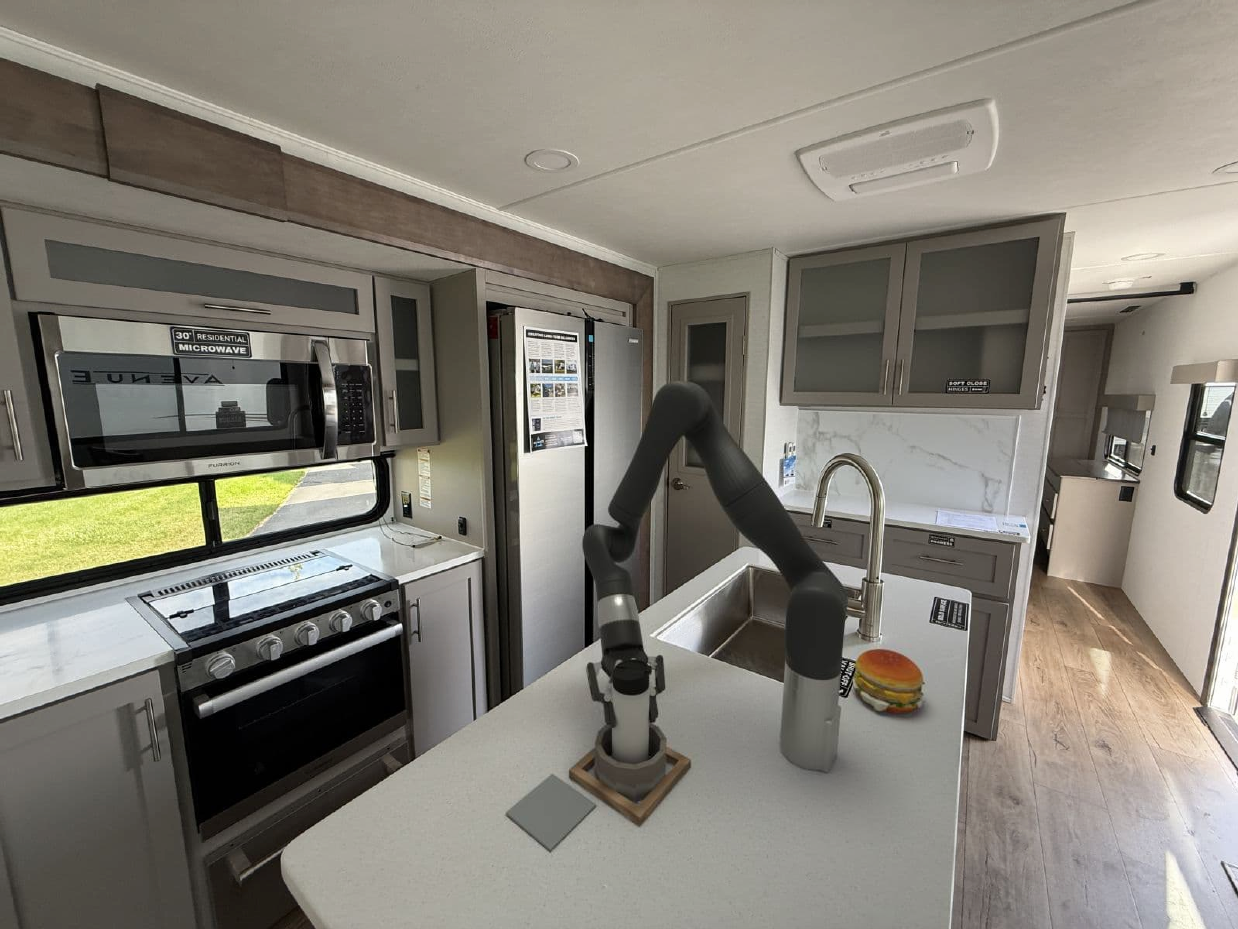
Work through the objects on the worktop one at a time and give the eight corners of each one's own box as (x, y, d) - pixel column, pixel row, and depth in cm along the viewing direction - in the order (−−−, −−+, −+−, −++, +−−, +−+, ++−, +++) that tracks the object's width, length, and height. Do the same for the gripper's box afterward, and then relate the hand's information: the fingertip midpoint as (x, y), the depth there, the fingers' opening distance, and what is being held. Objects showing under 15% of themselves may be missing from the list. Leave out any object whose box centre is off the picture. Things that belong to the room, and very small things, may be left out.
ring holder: (690, 767, 88) (691, 736, 87) (639, 826, 77) (640, 791, 76) (623, 729, 98) (623, 701, 96) (568, 777, 86) (568, 746, 85)
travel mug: (647, 789, 84) (649, 679, 80) (608, 782, 85) (608, 674, 81) (652, 761, 90) (654, 658, 86) (616, 755, 91) (616, 653, 87)
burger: (928, 697, 108) (934, 654, 106) (913, 730, 98) (918, 683, 96) (862, 672, 117) (865, 632, 115) (841, 700, 107) (845, 657, 105)
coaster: (596, 806, 80) (596, 804, 80) (550, 852, 73) (550, 849, 72) (552, 775, 86) (552, 773, 86) (505, 814, 79) (505, 812, 79)
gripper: (582, 621, 89) (592, 727, 79) (661, 614, 91) (679, 715, 82) (578, 634, 95) (588, 734, 85) (653, 627, 97) (669, 722, 88)
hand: (632, 724), depth 84 cm, fingers closed on travel mug, 6 cm apart
